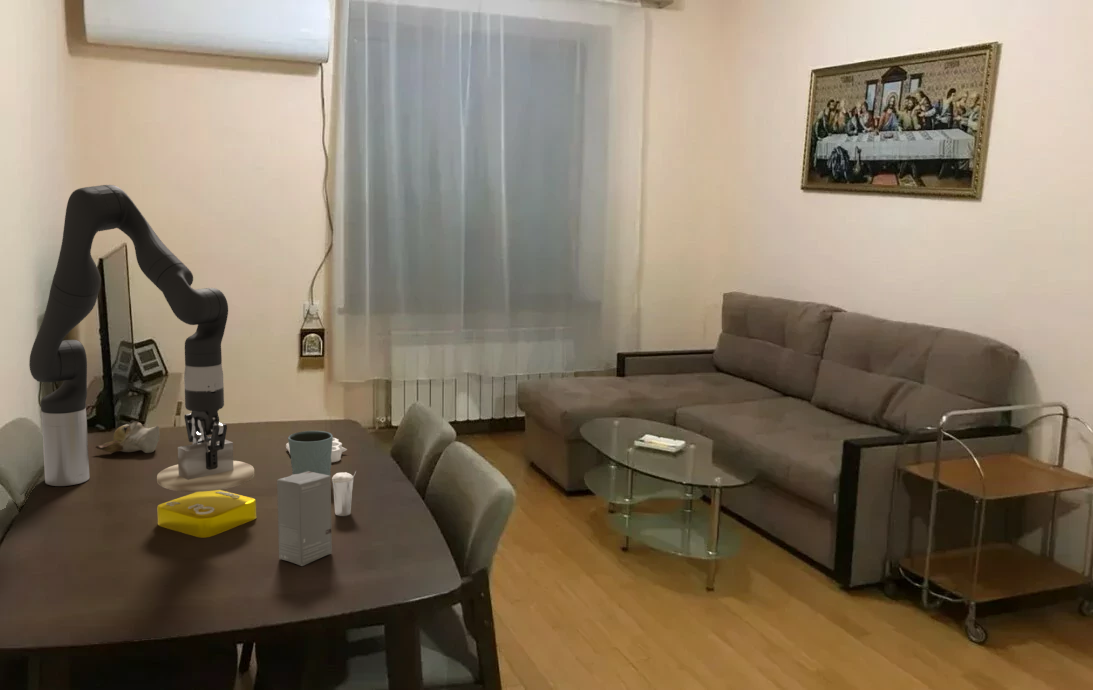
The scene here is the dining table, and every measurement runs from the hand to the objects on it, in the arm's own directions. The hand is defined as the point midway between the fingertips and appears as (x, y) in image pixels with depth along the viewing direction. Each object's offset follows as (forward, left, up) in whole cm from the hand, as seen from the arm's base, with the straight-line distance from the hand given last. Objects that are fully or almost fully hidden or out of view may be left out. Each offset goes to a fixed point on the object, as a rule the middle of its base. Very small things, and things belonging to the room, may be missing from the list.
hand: (206, 466), depth 188 cm
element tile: (0, 0, -12) cm, 12 cm away
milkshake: (+16, +23, -12) cm, 31 cm away
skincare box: (+30, +4, -12) cm, 33 cm away
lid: (0, 0, -2) cm, 2 cm away
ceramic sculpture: (-60, +10, -12) cm, 63 cm away
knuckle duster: (-27, +45, -13) cm, 54 cm away
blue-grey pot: (-6, +29, -12) cm, 32 cm away
